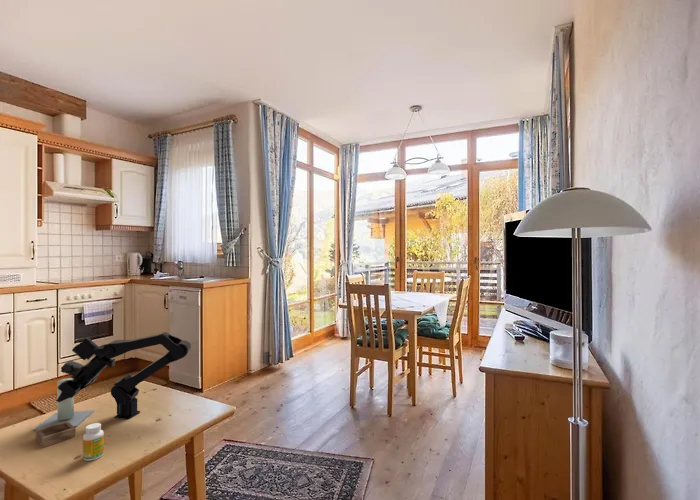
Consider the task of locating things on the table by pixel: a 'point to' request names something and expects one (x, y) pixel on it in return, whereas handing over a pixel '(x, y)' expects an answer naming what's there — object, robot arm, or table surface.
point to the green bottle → (64, 404)
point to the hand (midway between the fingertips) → (61, 398)
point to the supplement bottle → (93, 442)
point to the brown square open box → (55, 433)
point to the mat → (74, 420)
